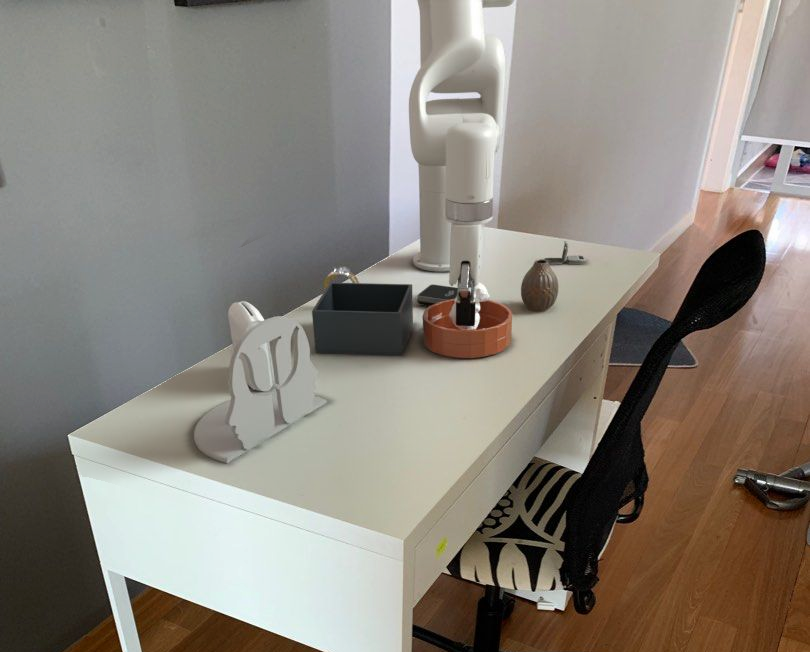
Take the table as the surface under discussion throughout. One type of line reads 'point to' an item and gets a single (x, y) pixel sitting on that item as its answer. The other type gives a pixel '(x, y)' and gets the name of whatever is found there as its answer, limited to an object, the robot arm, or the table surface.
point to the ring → (340, 272)
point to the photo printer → (240, 323)
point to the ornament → (264, 412)
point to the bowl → (467, 331)
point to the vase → (539, 287)
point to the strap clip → (570, 259)
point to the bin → (363, 319)
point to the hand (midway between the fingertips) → (467, 316)
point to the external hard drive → (436, 294)
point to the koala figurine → (479, 296)
